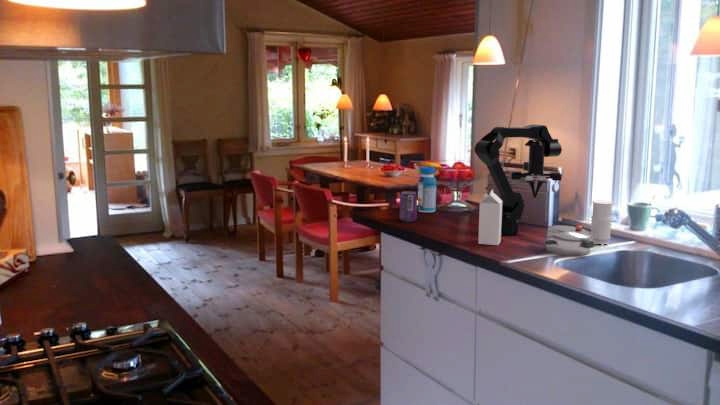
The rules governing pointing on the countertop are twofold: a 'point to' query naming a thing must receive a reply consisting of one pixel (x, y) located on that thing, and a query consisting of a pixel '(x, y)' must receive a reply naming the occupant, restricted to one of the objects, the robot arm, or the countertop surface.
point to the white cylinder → (601, 221)
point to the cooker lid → (569, 232)
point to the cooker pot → (568, 246)
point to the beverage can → (408, 206)
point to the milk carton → (490, 219)
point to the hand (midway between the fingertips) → (534, 197)
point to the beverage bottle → (427, 190)
